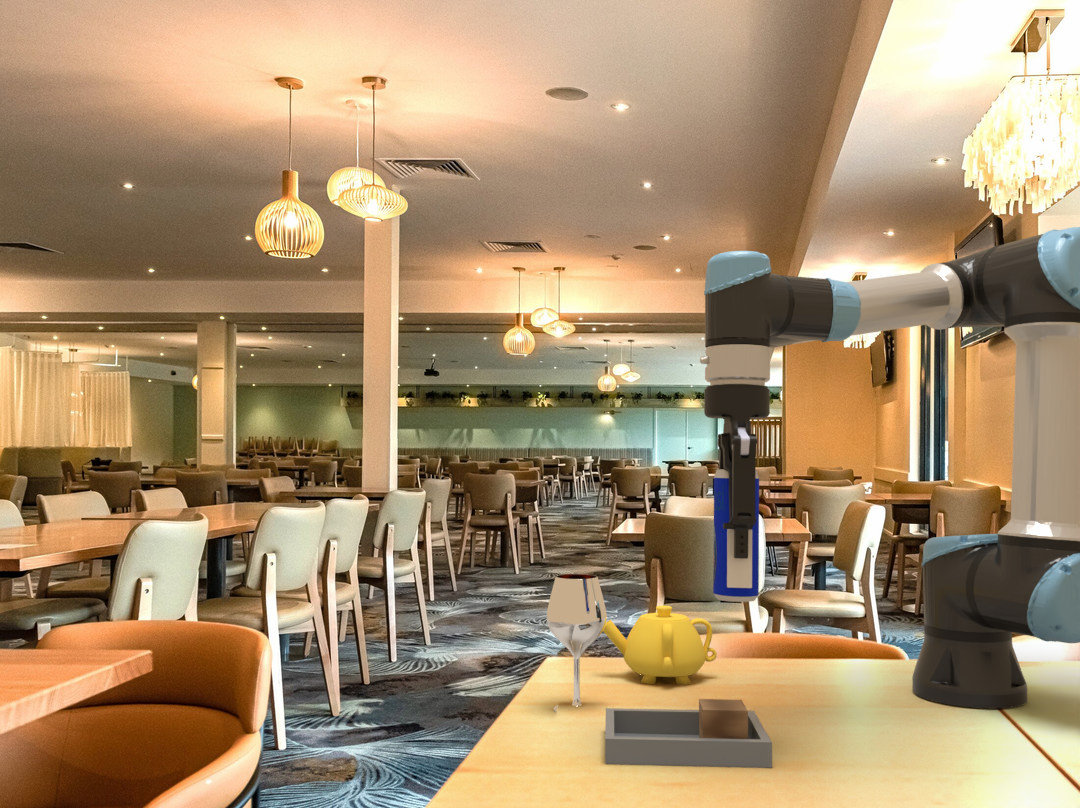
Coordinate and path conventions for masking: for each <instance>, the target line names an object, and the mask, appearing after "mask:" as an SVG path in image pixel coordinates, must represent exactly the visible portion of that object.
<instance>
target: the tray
mask: <svg viewBox="0 0 1080 808" xmlns="http://www.w3.org/2000/svg"><path fill="white" fill-rule="evenodd" d="M604 726H605V730H604V731H605V735H604V737H605V738H604V748H605V749H604V750H605V753H604V757H605V758H604V759H605V761H604V764H605V765H616V766H617V765H620V766H623V765H625V766H657V767H658V766H661V767H662V766H664V767H665V766H666V767H667V766H668V767H699V768H700V767H702V768H703V767H705V768H706V767H707V768H743V769H744V768H746V769H750V768H752V769H773V743H772V740H771V739H770V736H769V735H768V733H767V731H766V729H765V727H764V726H763V724H762V722H761V721H760V719H759V717H758V715H757V713H756V712H755V710H748V739H716V738H699V709H671V708H670V709H663V708H661V709H659V708H656V709H655V708H619V707H618V708H614V707H612V708H611V707H610V708H608V707H606V708H605V725H604Z"/></svg>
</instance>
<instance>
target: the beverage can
mask: <svg viewBox="0 0 1080 808" xmlns="http://www.w3.org/2000/svg"><path fill="white" fill-rule="evenodd" d="M759 515H760V477H759V473H758V469H757V470H756V469H755V517H756V524H755V525H753V527H752V588H728V587H727V529H723V524H724V523H729V475H728V471H726V470H724V469H719V468H717V469H716V470H715V475H714V476H713V558H712V559H713V571H712V573H713V577H712V581H713V582H712V583H713V584H712V585H713V587H712V594H714V597H715V598H716V599H717V600H719V601H724V602H731V603H732V602H733V603H735V602H736V603H747V602H748V603H749V602H755V601H756V599H757V597H758V596H759V594H760V593H759V587H760V586H759V582H760V581H759V578H760V577H759V576H760V575H759V574H760V573H759V571H760V569H759V568H760V565H759V564H760V557H759V556H760V550H759V549H760V544H759V543H760V539H759V537H760V516H759Z"/></svg>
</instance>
